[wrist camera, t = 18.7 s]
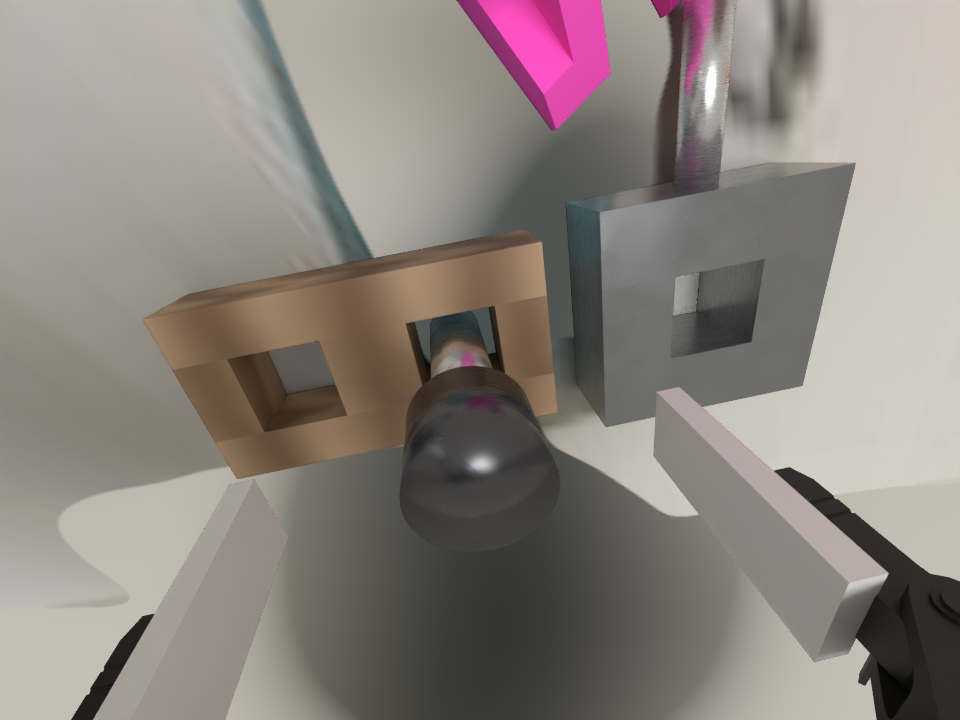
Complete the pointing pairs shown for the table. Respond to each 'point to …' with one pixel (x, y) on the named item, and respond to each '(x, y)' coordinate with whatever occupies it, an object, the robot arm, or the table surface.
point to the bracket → (550, 48)
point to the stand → (350, 346)
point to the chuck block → (702, 258)
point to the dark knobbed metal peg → (473, 449)
